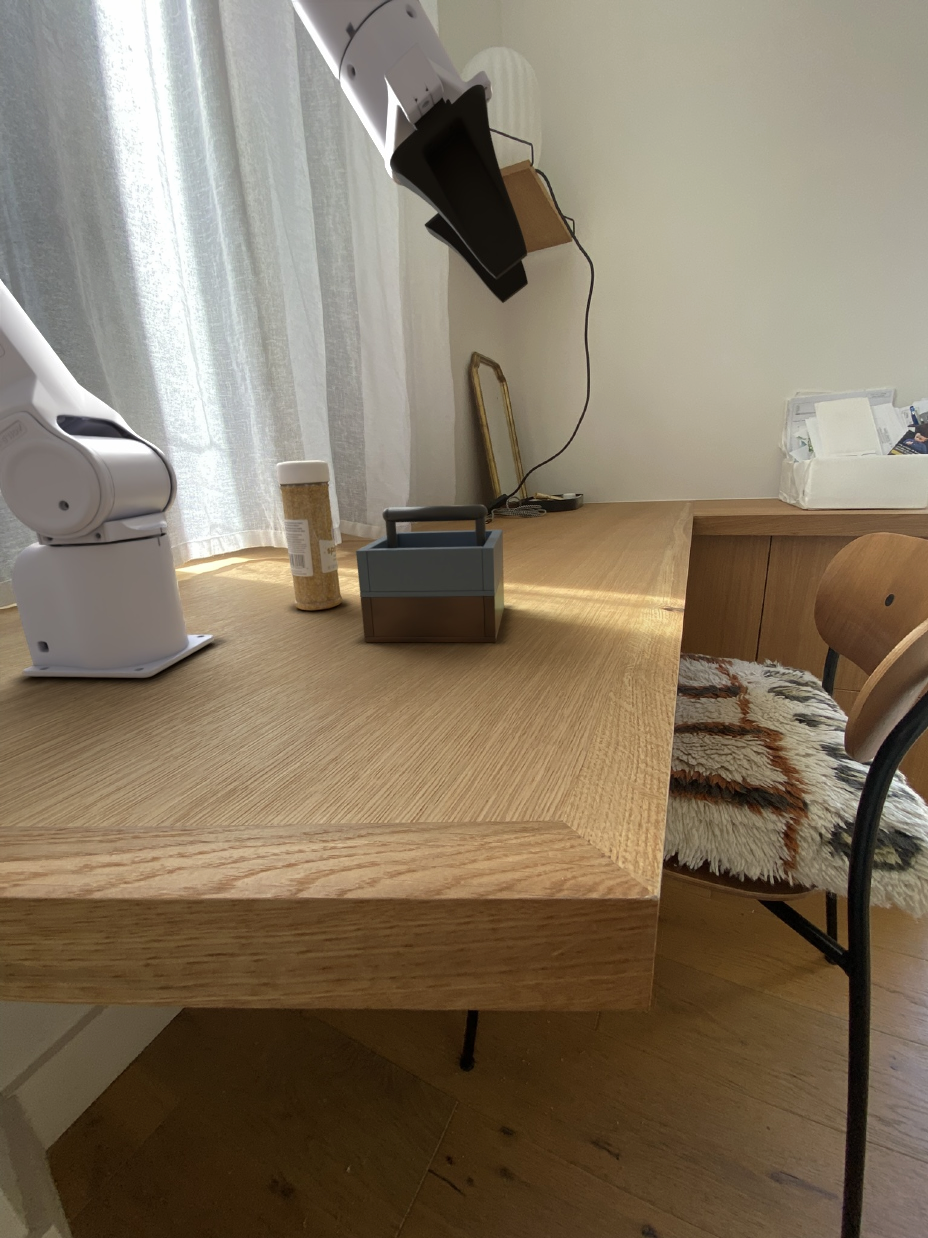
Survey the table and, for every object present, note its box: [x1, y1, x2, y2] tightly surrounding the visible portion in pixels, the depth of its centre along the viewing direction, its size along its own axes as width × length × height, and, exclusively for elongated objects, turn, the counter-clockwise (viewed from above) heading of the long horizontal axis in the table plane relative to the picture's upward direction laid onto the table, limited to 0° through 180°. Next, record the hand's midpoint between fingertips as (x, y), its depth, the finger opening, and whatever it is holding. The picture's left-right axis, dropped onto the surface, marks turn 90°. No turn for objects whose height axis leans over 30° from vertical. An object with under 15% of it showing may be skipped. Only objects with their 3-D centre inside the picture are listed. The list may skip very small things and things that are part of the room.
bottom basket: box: [360, 570, 505, 643], centre depth 46 cm, size 10×10×4 cm
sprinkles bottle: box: [275, 459, 343, 611], centre depth 52 cm, size 5×5×14 cm
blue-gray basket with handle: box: [355, 504, 504, 598], centre depth 44 cm, size 10×10×6 cm
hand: (513, 281), depth 34 cm, fingers open, 7 cm apart
